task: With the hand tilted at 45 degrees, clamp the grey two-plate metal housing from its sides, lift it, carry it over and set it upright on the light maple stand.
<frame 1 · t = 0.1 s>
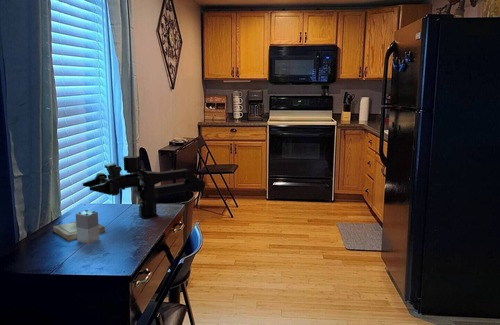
hand: (86, 186, 162), 16 cm above the table, tool horizontal, fingers open, 9 cm apart
stand: (79, 231, 159), on the table
housing: (88, 240, 150), on the table
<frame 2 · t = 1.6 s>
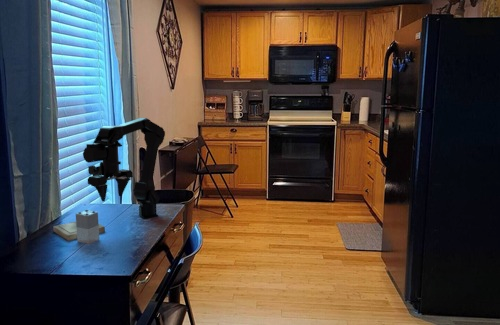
hand: (112, 198, 161), 12 cm above the table, tool pointing down, fingers open, 9 cm apart
nothing on the table moved.
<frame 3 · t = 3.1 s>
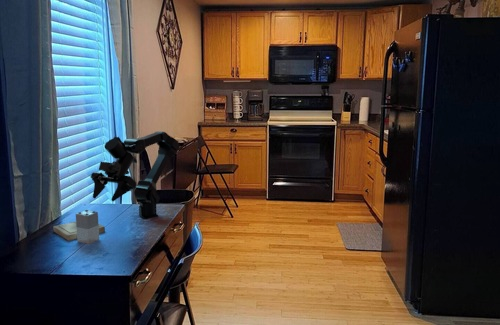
hand: (102, 199, 154), 13 cm above the table, tool tilted 45°, fingers open, 9 cm apart
nothing on the table moved.
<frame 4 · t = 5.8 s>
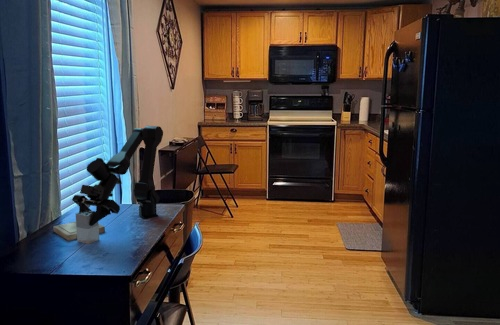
hand: (84, 224, 147), 7 cm above the table, tool tilted 45°, fingers closed on housing, 5 cm apart
housing: (88, 240, 150), on the table, touching gripper
when the fingers open (10 cm above the table, at t = 9.8 s): housing drops 1 cm, resting on stand.
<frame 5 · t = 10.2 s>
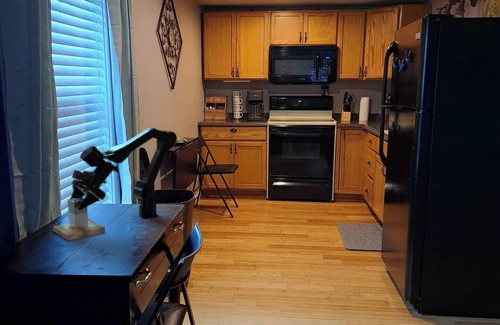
hand: (73, 207, 156), 10 cm above the table, tool tilted 45°, fingers open, 9 cm apart
housing: (78, 225, 159), point 2 cm above the table, touching stand
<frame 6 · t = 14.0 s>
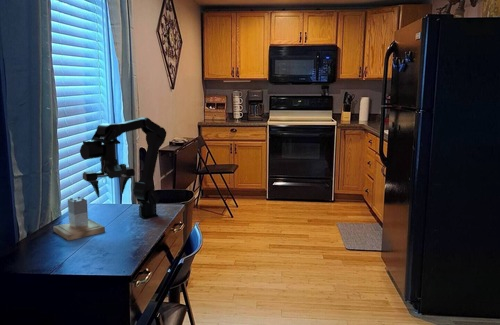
hand: (110, 195, 162), 13 cm above the table, tool pointing down, fingers open, 9 cm apart
nothing on the table moved.
at the end: housing inside the target area on the stand (0.0 cm from its centre), point 2.3 cm above the stand's base; housing tilted 0°; the gripper is holding nothing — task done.
